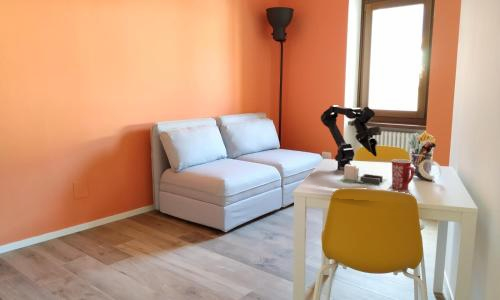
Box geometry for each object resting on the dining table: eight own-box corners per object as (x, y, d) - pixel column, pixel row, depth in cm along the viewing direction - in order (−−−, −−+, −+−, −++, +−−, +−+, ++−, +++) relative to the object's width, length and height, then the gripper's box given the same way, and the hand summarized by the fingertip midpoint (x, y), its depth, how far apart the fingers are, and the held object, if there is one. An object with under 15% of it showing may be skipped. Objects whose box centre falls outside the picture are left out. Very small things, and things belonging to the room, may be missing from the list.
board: (337, 183, 205) (337, 179, 205) (347, 177, 219) (347, 173, 218) (379, 189, 195) (379, 185, 194) (387, 182, 208) (387, 177, 208)
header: (360, 181, 203) (360, 177, 203) (364, 178, 210) (364, 173, 209) (378, 184, 199) (378, 179, 198) (382, 180, 205) (382, 176, 204)
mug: (386, 186, 200) (387, 159, 198) (401, 184, 203) (403, 158, 201) (402, 193, 189) (404, 164, 186) (419, 191, 191) (421, 163, 189)
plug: (338, 178, 211) (338, 164, 210) (340, 176, 214) (341, 163, 213) (356, 180, 206) (357, 166, 205) (358, 178, 209) (359, 165, 208)
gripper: (370, 115, 204) (382, 141, 197) (380, 126, 219) (392, 151, 212) (350, 125, 208) (361, 152, 201) (362, 136, 223) (373, 160, 216)
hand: (373, 153), depth 207 cm, fingers open, 9 cm apart
